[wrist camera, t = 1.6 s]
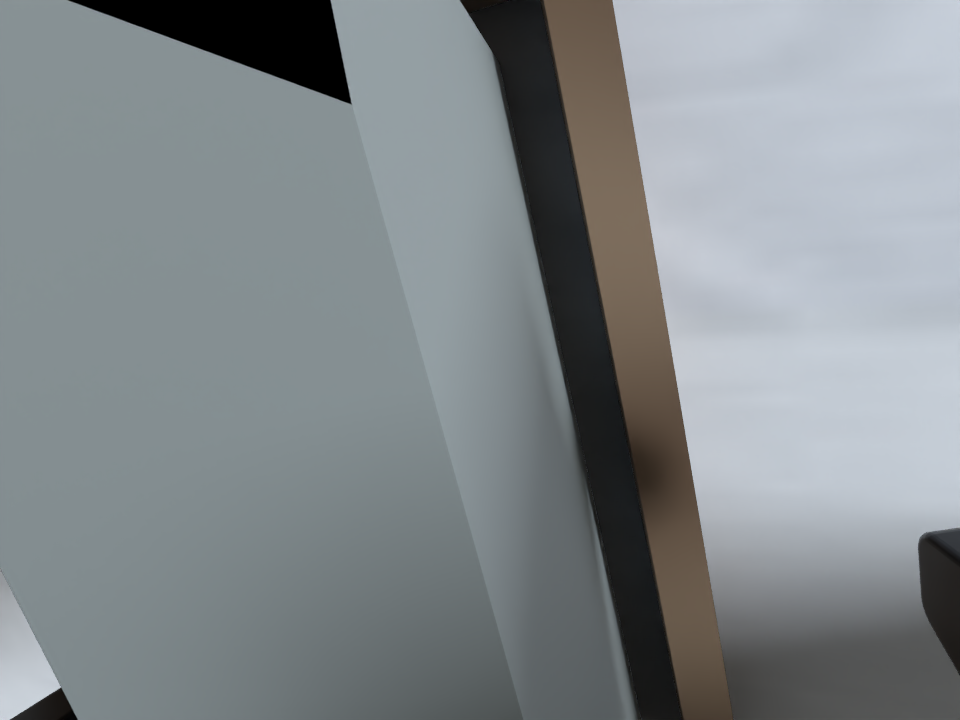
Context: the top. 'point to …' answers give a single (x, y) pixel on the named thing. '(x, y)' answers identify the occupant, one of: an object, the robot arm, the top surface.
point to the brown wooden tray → (637, 338)
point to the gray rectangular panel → (287, 373)
